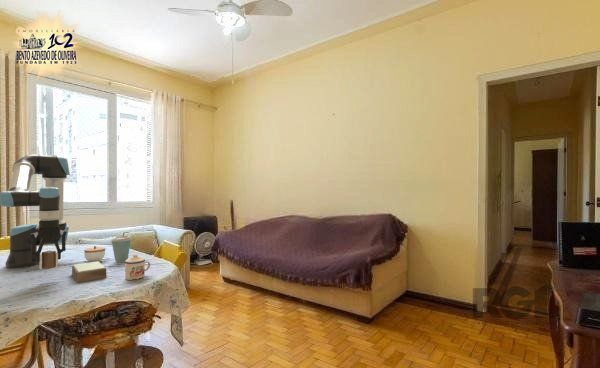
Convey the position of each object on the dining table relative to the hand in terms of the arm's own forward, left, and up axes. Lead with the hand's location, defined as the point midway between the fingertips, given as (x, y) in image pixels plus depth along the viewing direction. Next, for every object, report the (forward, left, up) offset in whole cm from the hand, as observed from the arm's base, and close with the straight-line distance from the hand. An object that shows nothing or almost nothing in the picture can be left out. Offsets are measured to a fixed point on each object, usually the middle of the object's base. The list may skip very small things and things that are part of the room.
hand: (48, 267), depth 147 cm
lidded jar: (-32, +24, -7) cm, 40 cm away
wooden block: (0, 0, -1) cm, 1 cm away
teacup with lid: (+20, +34, -7) cm, 40 cm away
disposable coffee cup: (-22, +36, -7) cm, 43 cm away
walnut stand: (+1, +16, -7) cm, 17 cm away
